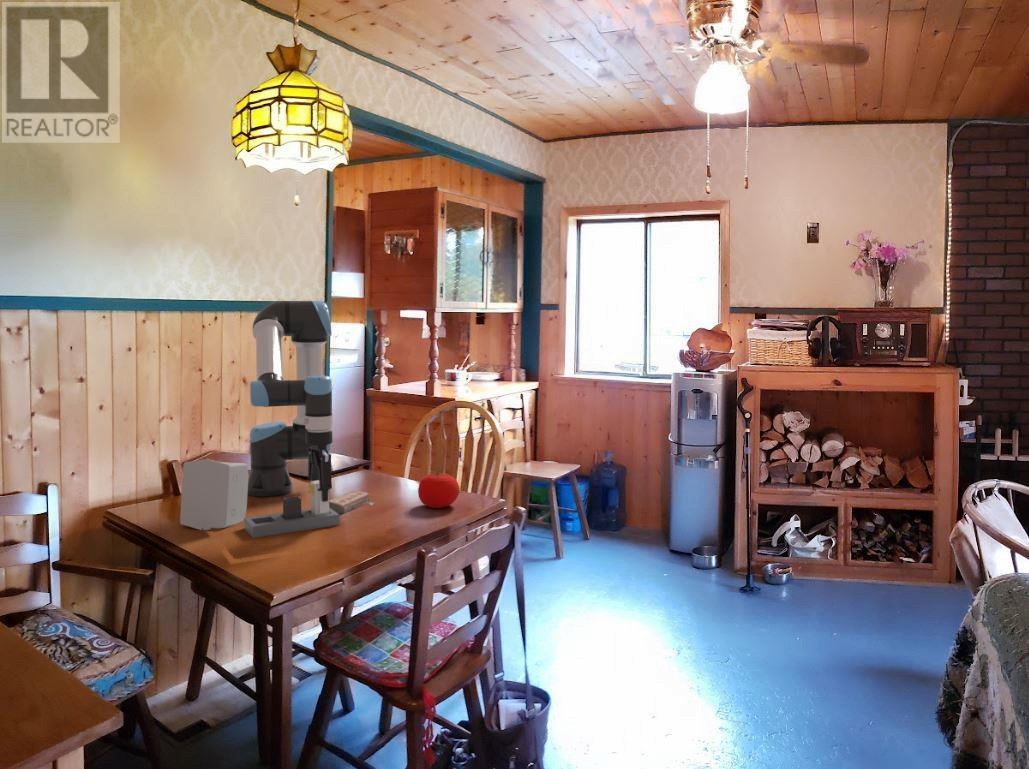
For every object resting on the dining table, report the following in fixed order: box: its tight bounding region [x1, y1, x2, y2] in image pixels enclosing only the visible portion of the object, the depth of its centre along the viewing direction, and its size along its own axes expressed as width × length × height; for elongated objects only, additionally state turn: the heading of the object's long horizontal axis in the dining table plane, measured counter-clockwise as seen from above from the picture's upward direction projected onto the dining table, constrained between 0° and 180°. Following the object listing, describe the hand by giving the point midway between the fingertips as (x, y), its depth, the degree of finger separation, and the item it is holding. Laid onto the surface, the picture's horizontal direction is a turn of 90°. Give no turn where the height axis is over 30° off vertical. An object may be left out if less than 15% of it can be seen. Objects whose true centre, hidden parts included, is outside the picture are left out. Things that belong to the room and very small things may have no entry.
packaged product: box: [329, 490, 376, 514], centre depth 235 cm, size 18×5×10 cm
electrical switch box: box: [179, 458, 249, 531], centre depth 220 cm, size 15×15×20 cm
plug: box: [308, 480, 329, 516], centre depth 217 cm, size 4×5×12 cm
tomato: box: [417, 472, 460, 509], centre depth 240 cm, size 12×13×11 cm
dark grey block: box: [282, 496, 302, 520], centre depth 213 cm, size 4×4×8 cm
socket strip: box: [243, 508, 341, 539], centre depth 213 cm, size 10×24×4 cm, turn 123°
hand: (320, 509), depth 217 cm, fingers open, 6 cm apart
